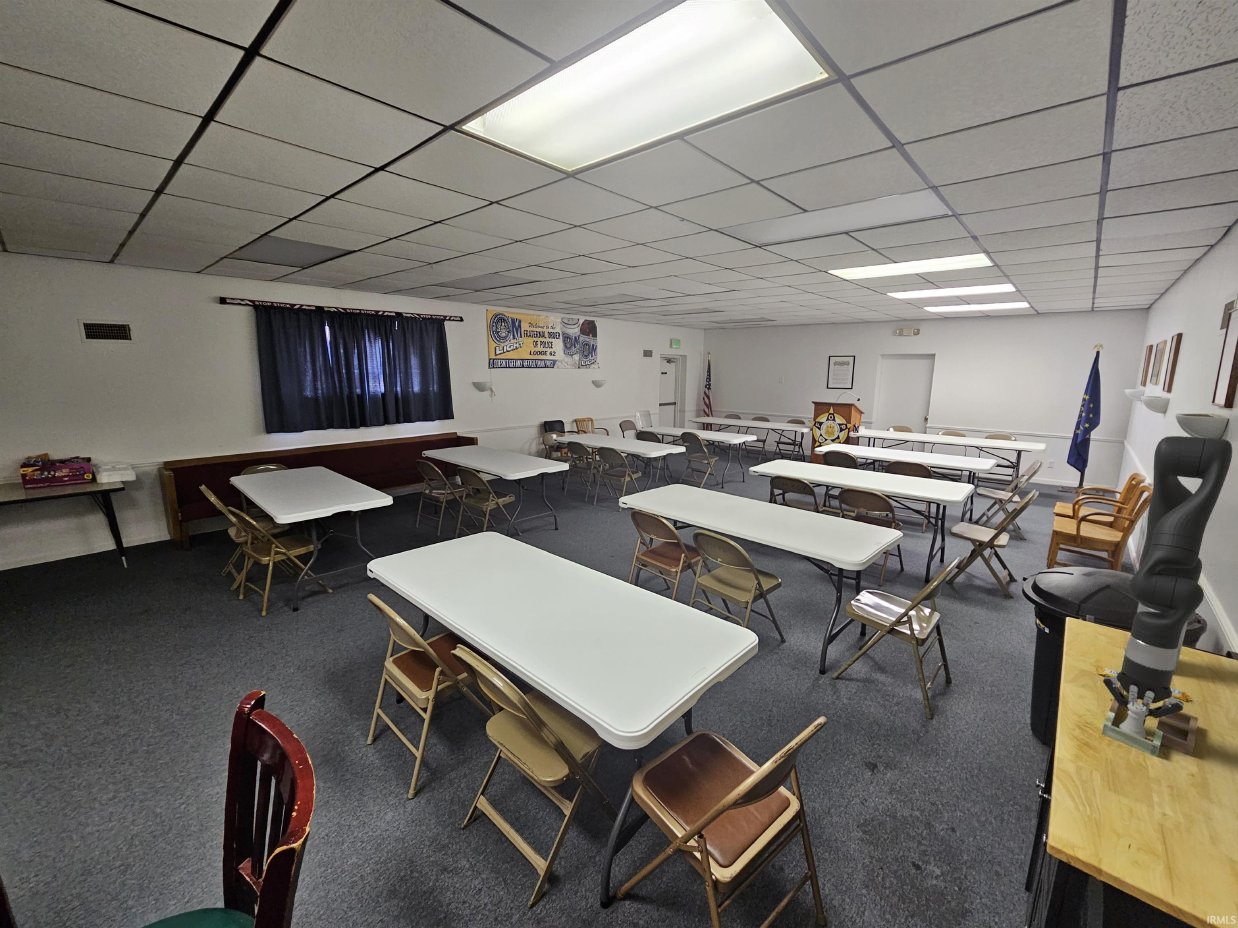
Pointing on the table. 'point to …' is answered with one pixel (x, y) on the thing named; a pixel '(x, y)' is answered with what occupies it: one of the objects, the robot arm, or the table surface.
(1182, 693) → the candy bar
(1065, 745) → the table surface
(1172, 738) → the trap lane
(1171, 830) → the table surface
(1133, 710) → the rook chess piece
